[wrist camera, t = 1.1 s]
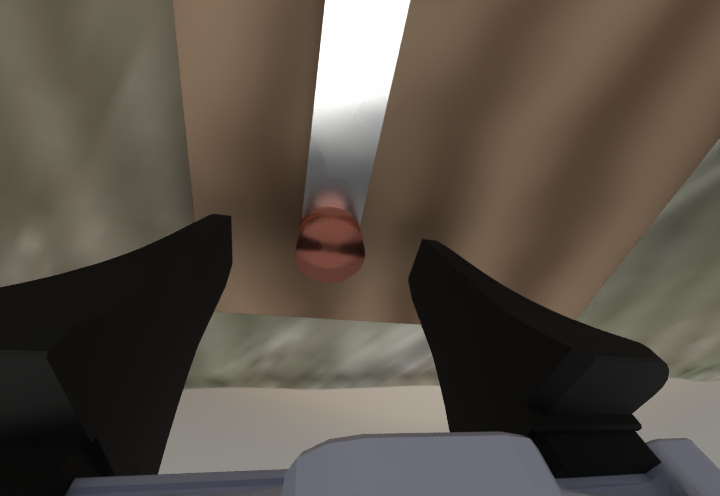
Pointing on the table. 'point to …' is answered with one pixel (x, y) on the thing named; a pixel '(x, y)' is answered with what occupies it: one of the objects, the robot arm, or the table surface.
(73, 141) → the table surface
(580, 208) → the board
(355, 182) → the lever
